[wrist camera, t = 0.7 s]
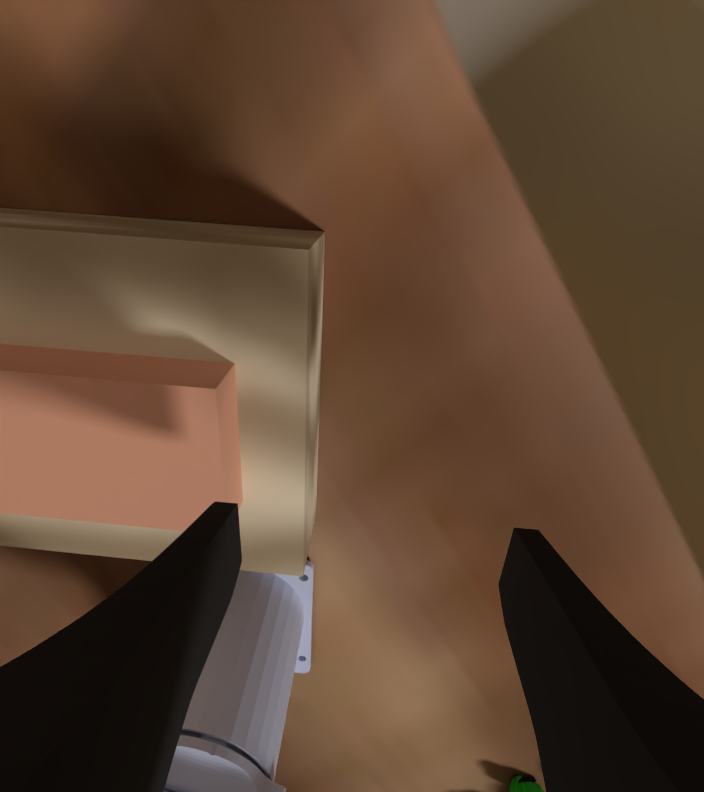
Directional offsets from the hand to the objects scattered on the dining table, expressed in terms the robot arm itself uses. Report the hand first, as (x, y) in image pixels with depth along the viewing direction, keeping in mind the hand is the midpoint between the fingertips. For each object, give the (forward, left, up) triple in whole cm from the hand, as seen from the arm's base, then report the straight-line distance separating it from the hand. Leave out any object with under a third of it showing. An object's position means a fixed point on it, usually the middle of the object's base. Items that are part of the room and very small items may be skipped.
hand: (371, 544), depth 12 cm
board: (-1, +10, -9) cm, 13 cm away
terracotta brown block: (-1, +10, -5) cm, 11 cm away
